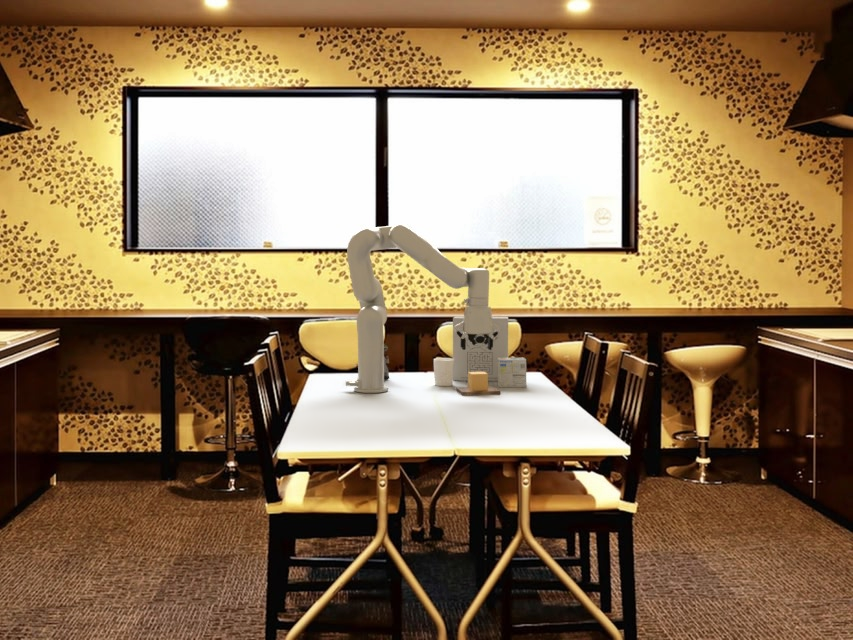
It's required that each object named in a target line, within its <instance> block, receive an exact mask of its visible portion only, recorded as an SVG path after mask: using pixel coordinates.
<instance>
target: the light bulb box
mask: <svg viewBox="0 0 853 640" xmlns="http://www.w3.org/2000/svg"><path fill="white" fill-rule="evenodd" d="M497 362H498V381H497V386H498V388H526V387H527V359H526V358H525V357H523V356H522V357H508V358H497Z"/></svg>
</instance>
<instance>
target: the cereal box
mask: <svg viewBox="0 0 853 640" xmlns="http://www.w3.org/2000/svg"><path fill="white" fill-rule="evenodd" d="M463 320H464V315H463V316H461V315H459V316H453V317H452V359H454V371H453V381H454V380H456V381H457V382H460V381H463V382H468V372H486V373H487V374H488V382H498V362H497V358H509V317H508V316H492V323H494V324H496V325H498V326H500V327H501V329H500V331H499V332H498V335H497V336H496V337H494V339H493V348H491V350H489V349H488V338H489V336H488V335H487V334H467V336H466V337H465V339H466V349H465V350H463V349H462V347H461V338H460V337H459V336H458V335H457V334H456V331H455V329H454V326H455V325H457V324H459V323H461V322H463ZM495 330H496V328H494V327H493V326H492V332H491V333H493V332H495ZM459 331H460V333H461V334H462V333H463V326H462V327H460V328H459ZM456 381H455V382H456Z"/></svg>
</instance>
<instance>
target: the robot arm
mask: <svg viewBox="0 0 853 640" xmlns="http://www.w3.org/2000/svg"><path fill="white" fill-rule="evenodd" d="M397 248H398V249H399V250H400V251H401V252H402V253H404V254H406V255H407V256H409V257H410V258H411V259H413V260H414V261H415V262H416V263H417V264H418V265H420V266H421V267H423V268H424V269H426V270H427V271H429V273H430V274H432V275H434V276H435V277H436V278H438V280H440V281H442V282H443V283H444V284H446V285H447V286H448V287H450V288H452V289H461V288H467V298H464V299H463V303H464V304H466V306H465V308H464V309H465V310H464V313H463V316H464V320H463V322H461V323H459V324H457V325H455V326H454V329H455V331H456V334H457V335H458V336H459V337H460V338H461V347H462V349H463V350H465V349H466V339H465V337H466V336H467V334H487V335H488V336H489V338H488V349H489V350H491V348H493V339H494V337H496V336H497V335H498V332H499V331H500V329H501V327H500V326H498V325H496V324H494V323H492V317H493V316H492V308H491V306H489V296H490V291H489V290H490V271H489V269H487V268H481V267H480V268H478V267H477V268H476V267H475V268H467V267H461V266H458V265H456V264H455V263H454V262H453V261H451V260H450V259H448V258H447V257H446V256H445V255H443V253H441V251H440V250H439V249H438V248H437V247H436V245H434V244H433V243H432V242H430V241H428V240H427V239H425V238H424V237H423V236H422V235H420V234H419V233H417V232H416V231H415V230H413V228H412V227H411V226H410V225H408V224H406V223H396V224H395V225H386V226H377V227H371V226H368V227H363V228H362V229H359V230H358V231H357V232H355V233H354V235H352V237H351V238H350V240H349V242H348V245H347V248H346V249H347V251H346V256H347V264H348V269H349V277H350V280H351V281H350V282H351V285H352V293H353V295H354V297H355V298H356V300H358V302H359V306H360V307H359V308H360V310H359V312H358V313H357V316H356V331H357V359H358V360H357V362H358V363H357V364H358V367H357V368H358V370H357V372H358V373H357V374H358V375H357V377H356V379H354V380H345V386H346V387H349V386H350V387H353V386H354V387H353V391H354V392H356V393H362V394H363V393H364V394H377V393H378V394H379V393H384V392H387V391H389V386H387V385H385V379H384V356H385V355H384V354H385V351H384V344H385V343H384V341H385V340H384V338H385V337H384V325H385V324H386V322H387V319H388V312H387V311H388V310H387V307H386V303H385V298H384V292H383V287H382V284H381V282H380V280H379V279H378V277H375V273H374V269H373V262H372V259H371V252H372V251H379V250H387V249H388V250H389V249H397ZM462 326H463V333H462V334H461V333H460V331H459V328H460V327H462ZM492 326H493V327H494V328H496V330H495V332H493V333H491V332H492Z"/></svg>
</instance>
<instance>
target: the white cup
mask: <svg viewBox="0 0 853 640" xmlns="http://www.w3.org/2000/svg"><path fill="white" fill-rule="evenodd" d="M453 371H454V359H453V357H452V358H451V357H436V358H433V373H434V376H433V377H434V384H435V386H437V387H450V386H453V385H454V384H453V383H454V382H453V381H454V380H453Z"/></svg>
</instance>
